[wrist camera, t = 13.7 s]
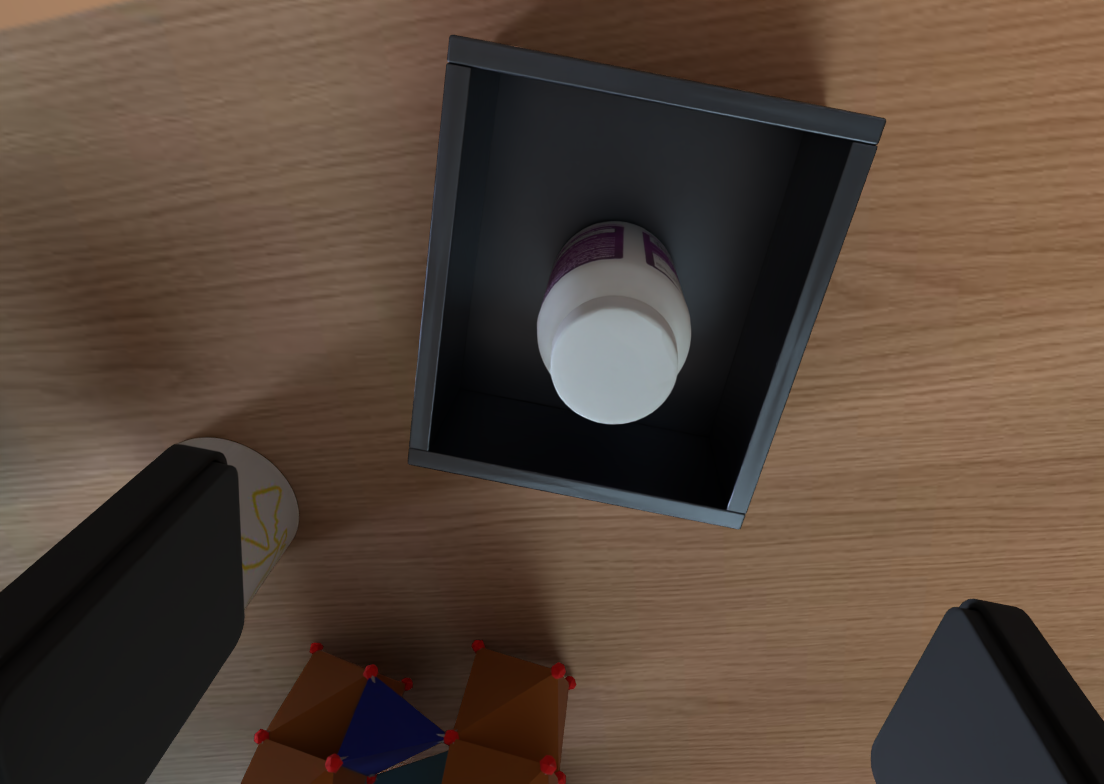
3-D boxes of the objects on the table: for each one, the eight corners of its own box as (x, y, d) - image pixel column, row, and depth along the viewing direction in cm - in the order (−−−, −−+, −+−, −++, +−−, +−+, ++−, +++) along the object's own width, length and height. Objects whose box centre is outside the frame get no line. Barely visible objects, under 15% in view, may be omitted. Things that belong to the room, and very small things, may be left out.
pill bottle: (544, 328, 31) (515, 429, 23) (561, 209, 29) (536, 271, 20) (663, 348, 31) (680, 457, 23) (689, 230, 29) (719, 301, 20)
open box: (486, 40, 27) (448, 34, 21) (828, 106, 27) (888, 118, 21) (445, 393, 34) (406, 464, 28) (718, 446, 34) (740, 530, 28)
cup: (316, 558, 39) (201, 747, 28) (183, 566, 40) (24, 750, 30) (273, 431, 36) (123, 590, 25) (130, 443, 37) (-72, 600, 26)
